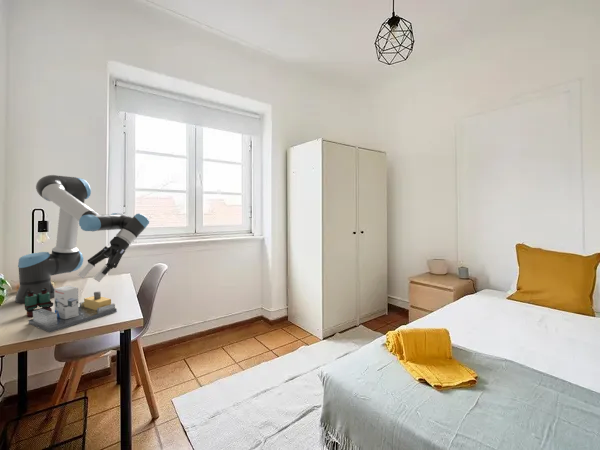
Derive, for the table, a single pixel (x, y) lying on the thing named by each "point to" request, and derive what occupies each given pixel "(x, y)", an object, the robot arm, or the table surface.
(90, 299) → the press jaw
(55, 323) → the press bed
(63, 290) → the ink box
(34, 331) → the table surface
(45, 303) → the binoculars
